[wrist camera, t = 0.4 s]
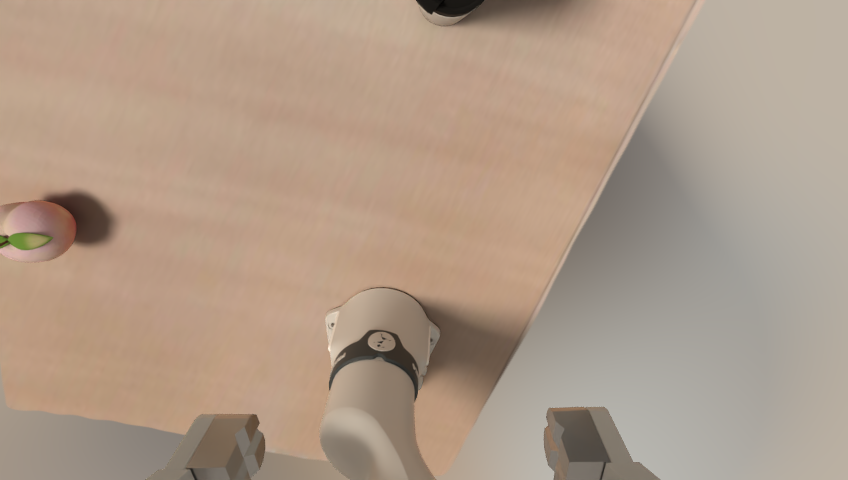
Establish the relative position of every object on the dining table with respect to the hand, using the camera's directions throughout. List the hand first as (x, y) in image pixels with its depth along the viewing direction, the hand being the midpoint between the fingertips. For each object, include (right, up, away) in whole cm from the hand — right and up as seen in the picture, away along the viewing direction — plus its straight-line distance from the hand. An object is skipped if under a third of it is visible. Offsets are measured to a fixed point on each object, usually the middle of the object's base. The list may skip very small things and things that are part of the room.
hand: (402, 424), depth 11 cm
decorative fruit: (-51, +9, +47) cm, 70 cm away
